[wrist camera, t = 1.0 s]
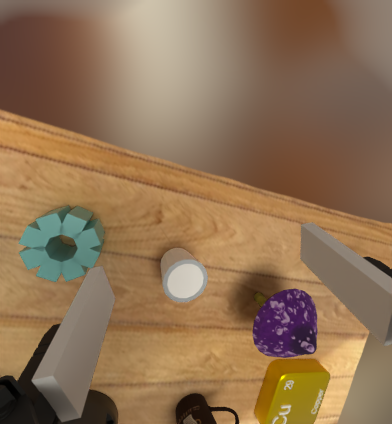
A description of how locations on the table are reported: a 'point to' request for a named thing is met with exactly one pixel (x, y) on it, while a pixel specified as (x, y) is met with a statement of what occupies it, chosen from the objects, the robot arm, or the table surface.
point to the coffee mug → (198, 411)
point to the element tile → (292, 392)
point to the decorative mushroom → (285, 324)
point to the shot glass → (182, 275)
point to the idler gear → (54, 248)
